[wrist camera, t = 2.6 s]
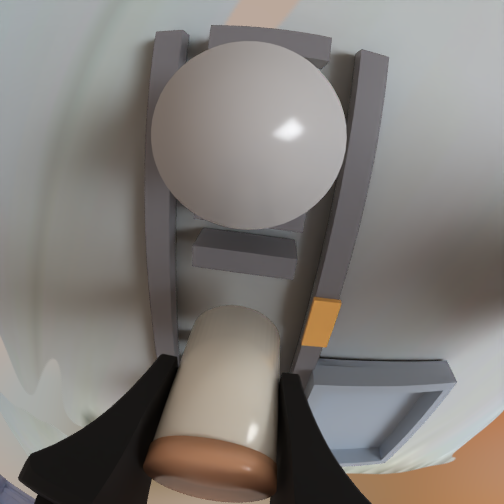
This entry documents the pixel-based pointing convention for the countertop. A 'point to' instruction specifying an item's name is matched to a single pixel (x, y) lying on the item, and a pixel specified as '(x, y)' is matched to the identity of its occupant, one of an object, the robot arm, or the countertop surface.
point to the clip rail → (272, 248)
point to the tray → (374, 404)
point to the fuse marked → (222, 411)
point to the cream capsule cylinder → (248, 135)
